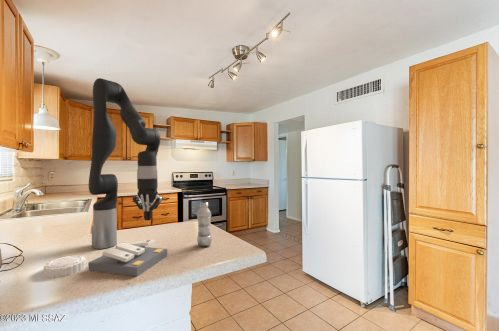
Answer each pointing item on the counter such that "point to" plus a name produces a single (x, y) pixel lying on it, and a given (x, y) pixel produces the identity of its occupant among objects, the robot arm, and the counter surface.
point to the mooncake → (64, 266)
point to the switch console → (128, 262)
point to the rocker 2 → (143, 242)
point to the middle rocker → (130, 248)
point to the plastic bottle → (204, 225)
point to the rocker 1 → (118, 254)
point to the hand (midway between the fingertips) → (148, 220)
